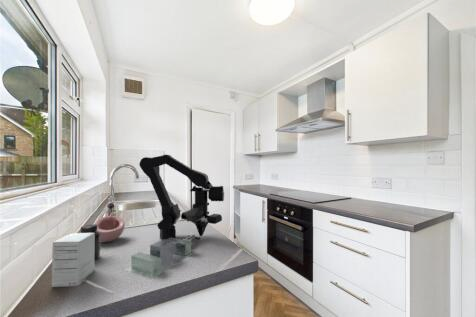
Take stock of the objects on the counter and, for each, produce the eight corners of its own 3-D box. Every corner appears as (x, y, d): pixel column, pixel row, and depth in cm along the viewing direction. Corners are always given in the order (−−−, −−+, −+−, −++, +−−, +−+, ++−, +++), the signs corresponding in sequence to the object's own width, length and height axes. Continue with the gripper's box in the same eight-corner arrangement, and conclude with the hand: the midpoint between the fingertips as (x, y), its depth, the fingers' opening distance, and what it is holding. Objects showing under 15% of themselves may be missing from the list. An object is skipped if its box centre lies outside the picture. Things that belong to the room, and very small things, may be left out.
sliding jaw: (164, 250, 77) (164, 240, 77) (185, 240, 87) (185, 230, 88) (185, 255, 73) (185, 244, 73) (204, 244, 83) (204, 234, 83)
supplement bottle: (104, 256, 74) (104, 224, 74) (85, 265, 67) (85, 229, 68) (91, 254, 76) (92, 222, 76) (71, 262, 70) (72, 227, 70)
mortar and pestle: (94, 249, 81) (94, 220, 81) (91, 240, 90) (91, 215, 90) (127, 241, 89) (127, 215, 89) (121, 234, 98) (121, 210, 98)
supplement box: (70, 273, 63) (71, 232, 63) (95, 272, 63) (95, 232, 64) (50, 287, 55) (51, 241, 56) (78, 286, 56) (79, 240, 56)
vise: (124, 272, 63) (124, 257, 63) (171, 248, 81) (171, 236, 81) (151, 281, 58) (151, 265, 58) (194, 254, 76) (194, 241, 76)
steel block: (150, 263, 67) (150, 245, 68) (163, 255, 73) (163, 239, 73) (159, 266, 65) (159, 247, 66) (172, 258, 71) (173, 241, 71)
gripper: (172, 202, 87) (172, 238, 86) (208, 206, 79) (208, 246, 78) (189, 198, 97) (188, 231, 96) (222, 201, 89) (222, 236, 88)
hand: (201, 236), depth 90 cm, fingers closed
